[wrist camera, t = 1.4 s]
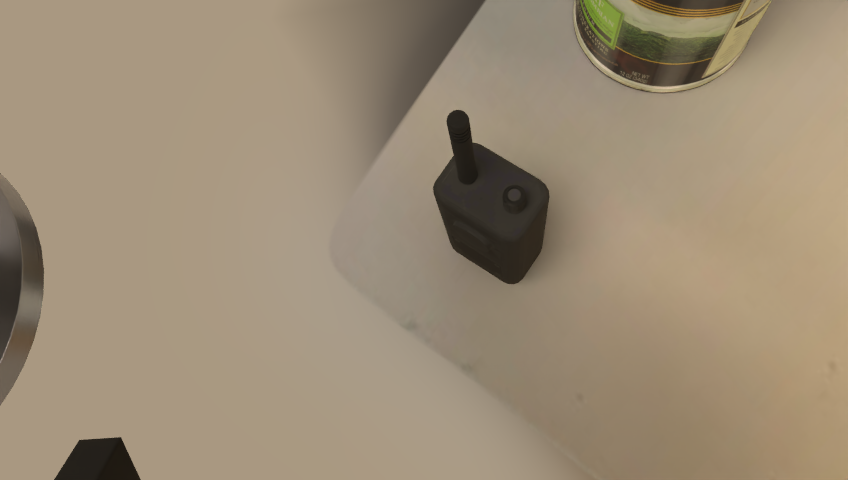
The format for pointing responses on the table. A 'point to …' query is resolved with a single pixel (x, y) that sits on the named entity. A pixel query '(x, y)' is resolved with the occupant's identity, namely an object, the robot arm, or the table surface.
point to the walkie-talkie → (490, 206)
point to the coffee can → (665, 39)
